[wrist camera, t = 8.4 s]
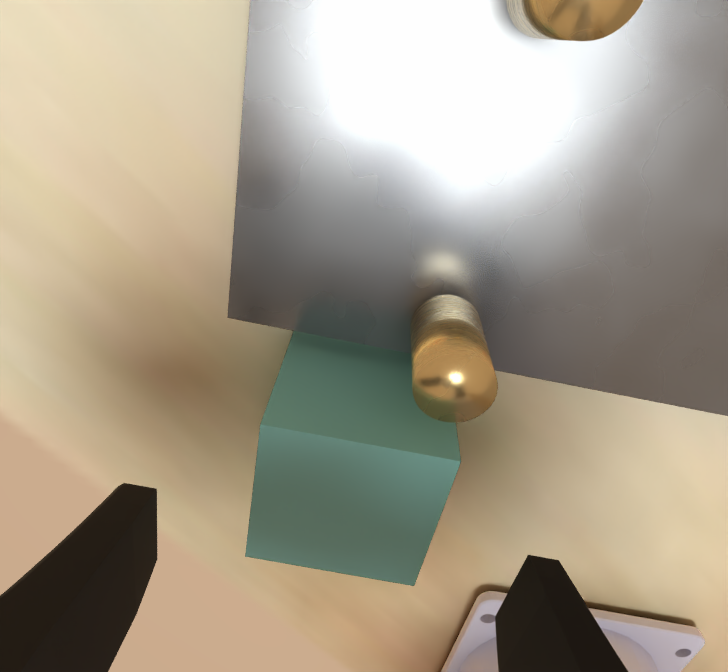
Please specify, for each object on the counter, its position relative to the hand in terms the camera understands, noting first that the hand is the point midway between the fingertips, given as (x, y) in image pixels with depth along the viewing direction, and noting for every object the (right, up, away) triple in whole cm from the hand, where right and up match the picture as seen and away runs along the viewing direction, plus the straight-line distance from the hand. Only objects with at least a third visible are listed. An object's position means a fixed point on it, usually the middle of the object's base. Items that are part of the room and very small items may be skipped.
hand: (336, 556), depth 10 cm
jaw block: (0, +2, +5) cm, 5 cm away
